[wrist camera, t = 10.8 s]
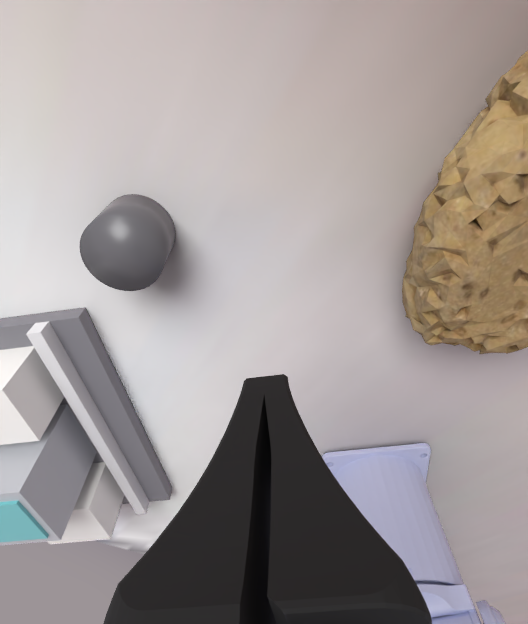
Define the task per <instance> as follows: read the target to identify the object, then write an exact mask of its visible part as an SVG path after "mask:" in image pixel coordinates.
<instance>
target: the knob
mask: <svg viewBox="0 0 528 624" xmlns="http://www.w3.org/2000/svg"><path fill="white" fill-rule="evenodd" d="M174 242H175V227H174V223H173V220H172V219H171V217H170V215H169V214H168V212H167V211H166V210H165V209H164V208H163V207H162V206H161V205H160V204H159V203H157V202H156V201H154V200H152V199H150V198H148V197H145V196H142V195H134V194H131V195H124V196H121V197H118V198H117V199H115V200H114V201H112V202H111V203H110V204H109V205H108V206H107V207H106V208H105V209H104V210H103V211H102V212H101V213H100V214H99V215H98V216H97V217H96V218H95V219H94V220H93V221H92V222H91V223H90V224H89V225H88V226H87V228H86V229H85V230H84V232H83V234H82V236H81V240H80V253H81V257H82V260H83V262H84V264H85V266H86V267H87V269H88V270H89V271H90V273H91V274H92V275H93V276H94V277H95V278H97V279H98V280H99V281H100V282H102V283H104V284H105V285H107V286H110V287H112V288H115V289H119V290H124V291H136V290H141V289H144V288H146V287H148V286H150V285H151V284H153V283H154V282H155V281H156V280H157V279H158V277H159V276H160V274H161V272H162V270H163V267H164V265H165V263H166V261H167V258H168V256H169V254H170V252H171V249H172V247H173V245H174Z"/></svg>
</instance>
